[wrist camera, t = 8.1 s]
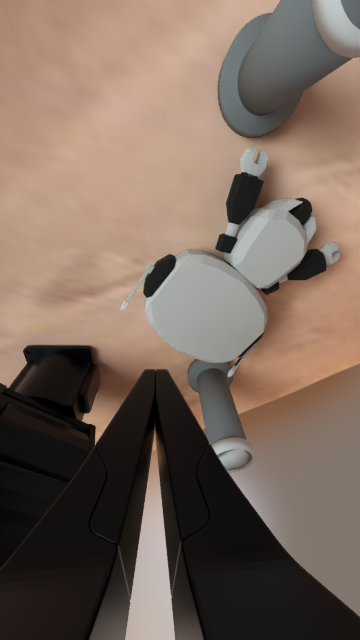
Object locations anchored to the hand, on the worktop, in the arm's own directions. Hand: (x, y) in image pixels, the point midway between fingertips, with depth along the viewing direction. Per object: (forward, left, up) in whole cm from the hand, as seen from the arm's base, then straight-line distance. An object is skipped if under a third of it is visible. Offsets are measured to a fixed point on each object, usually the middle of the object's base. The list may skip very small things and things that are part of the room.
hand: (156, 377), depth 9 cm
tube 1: (+6, -12, -13) cm, 19 cm away
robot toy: (+6, 0, -13) cm, 15 cm away
